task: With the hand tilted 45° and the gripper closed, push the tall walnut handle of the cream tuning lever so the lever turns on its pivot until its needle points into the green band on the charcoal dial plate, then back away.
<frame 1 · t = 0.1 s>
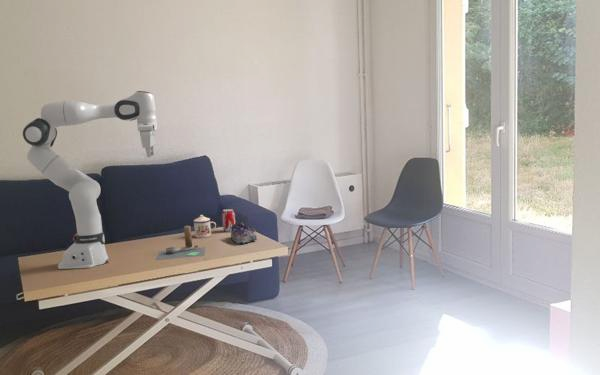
hand: (150, 156, 269), 48 cm above the table, fingers open, 8 cm apart
tuning lever: (180, 239, 276), point 7 cm above the table, hinge at 20.0°
teacup with lid: (205, 236, 316), on the table
soda can: (229, 231, 324), on the table
geode: (241, 241, 300), on the table
dial plate: (181, 256, 274), on the table
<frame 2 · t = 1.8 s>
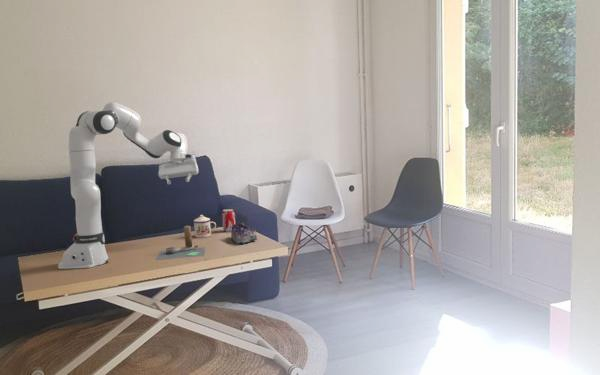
hand: (178, 182, 292), 32 cm above the table, fingers open, 8 cm apart
nothing on the table moved.
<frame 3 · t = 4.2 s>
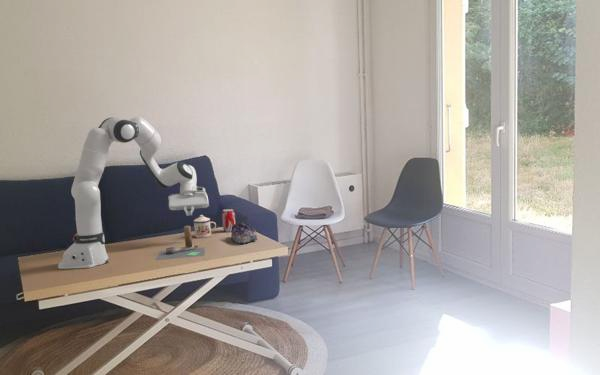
hand: (189, 214, 292), 16 cm above the table, fingers closed
nothing on the table moved.
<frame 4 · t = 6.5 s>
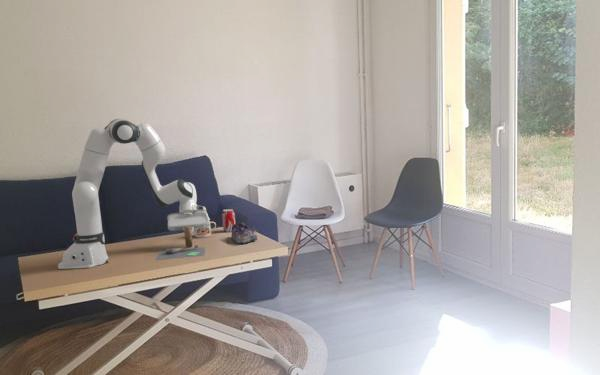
hand: (189, 235, 280), 8 cm above the table, fingers closed, pressing on tuning lever
tuning lever: (180, 239, 276), point 7 cm above the table, hinge at 18.4°, touching gripper
everything else where it was.
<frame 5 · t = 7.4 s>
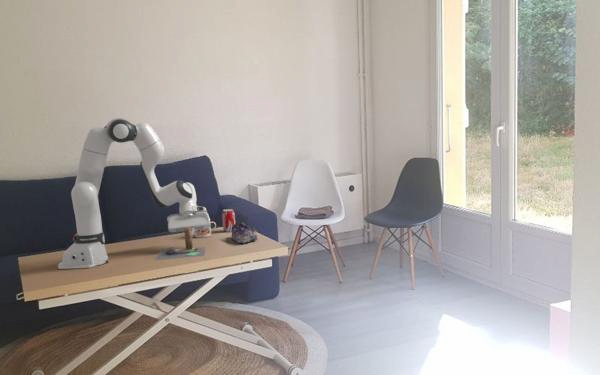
hand: (190, 237, 276), 8 cm above the table, fingers closed, pressing on tuning lever
tuning lever: (181, 240, 274), point 7 cm above the table, hinge at -7.4°, touching gripper
everything else where it was.
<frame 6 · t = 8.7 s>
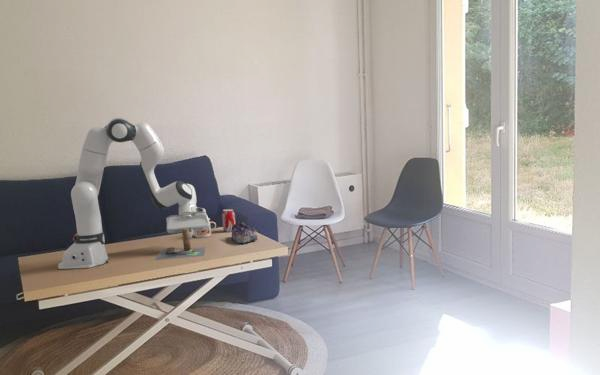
hand: (188, 238, 273), 8 cm above the table, fingers closed
tuning lever: (179, 241, 272), point 7 cm above the table, hinge at -24.9°, touching gripper
everything else where it was.
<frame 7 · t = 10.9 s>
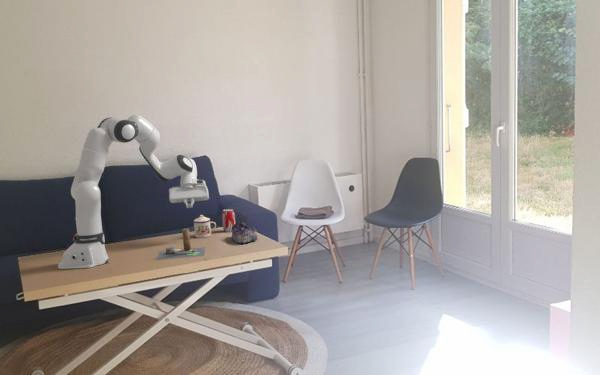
hand: (189, 207, 295), 19 cm above the table, fingers closed
tuning lever: (179, 241, 272), point 7 cm above the table, hinge at -24.9°
everything else where it was.
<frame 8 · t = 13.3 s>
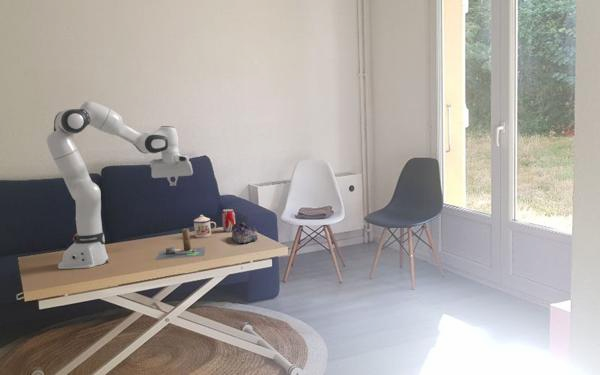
hand: (173, 185, 291), 31 cm above the table, fingers closed
nothing on the table moved.
at the end: tuning lever at -25° (first picture: +20°) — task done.
